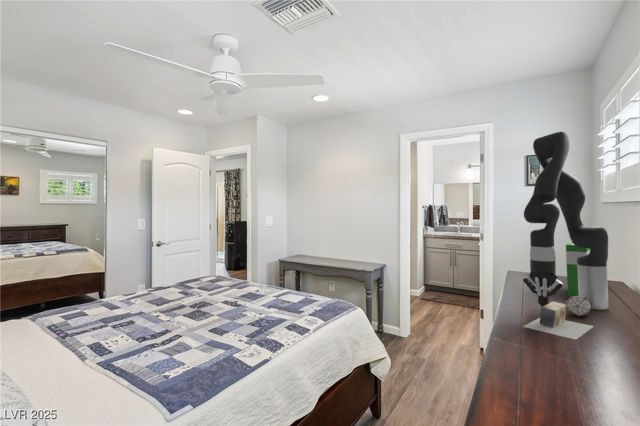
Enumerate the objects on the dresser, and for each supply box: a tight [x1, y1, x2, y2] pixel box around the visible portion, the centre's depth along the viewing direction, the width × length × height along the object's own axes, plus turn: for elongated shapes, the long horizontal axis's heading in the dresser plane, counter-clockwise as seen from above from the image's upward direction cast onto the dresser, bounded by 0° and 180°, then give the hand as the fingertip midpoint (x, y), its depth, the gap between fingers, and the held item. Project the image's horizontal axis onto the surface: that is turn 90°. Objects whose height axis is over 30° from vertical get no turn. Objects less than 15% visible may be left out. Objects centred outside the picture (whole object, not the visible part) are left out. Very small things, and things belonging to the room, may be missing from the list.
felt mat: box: [522, 317, 595, 341], centre depth 108 cm, size 18×15×1 cm
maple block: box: [539, 300, 567, 328], centre depth 111 cm, size 6×4×11 cm
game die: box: [564, 294, 594, 319], centre depth 118 cm, size 9×8×10 cm
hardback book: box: [565, 241, 590, 297], centre depth 150 cm, size 18×7×24 cm, turn 134°
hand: (543, 306), depth 114 cm, fingers closed
